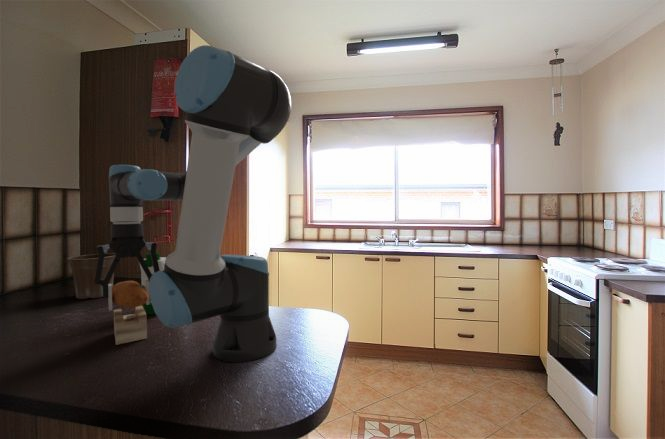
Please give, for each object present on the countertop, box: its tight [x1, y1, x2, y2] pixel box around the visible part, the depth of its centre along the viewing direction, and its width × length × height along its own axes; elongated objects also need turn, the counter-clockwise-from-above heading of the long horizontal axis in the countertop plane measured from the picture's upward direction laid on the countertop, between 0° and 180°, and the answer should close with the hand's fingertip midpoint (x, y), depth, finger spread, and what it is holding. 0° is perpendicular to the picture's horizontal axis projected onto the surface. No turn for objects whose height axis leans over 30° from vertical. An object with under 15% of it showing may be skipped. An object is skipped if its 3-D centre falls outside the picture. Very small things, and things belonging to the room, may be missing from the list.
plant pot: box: [67, 253, 115, 300], centre depth 134 cm, size 16×16×16 cm
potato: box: [112, 280, 149, 309], centre depth 90 cm, size 7×13×7 cm, turn 52°
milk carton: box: [138, 252, 167, 315], centre depth 112 cm, size 9×9×20 cm
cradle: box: [113, 305, 148, 346], centre depth 90 cm, size 10×7×6 cm
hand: (129, 306), depth 90 cm, fingers closed on potato, 8 cm apart
